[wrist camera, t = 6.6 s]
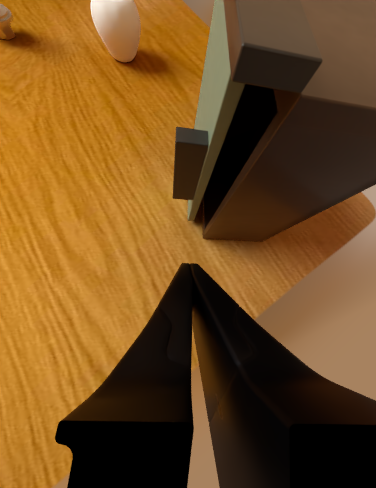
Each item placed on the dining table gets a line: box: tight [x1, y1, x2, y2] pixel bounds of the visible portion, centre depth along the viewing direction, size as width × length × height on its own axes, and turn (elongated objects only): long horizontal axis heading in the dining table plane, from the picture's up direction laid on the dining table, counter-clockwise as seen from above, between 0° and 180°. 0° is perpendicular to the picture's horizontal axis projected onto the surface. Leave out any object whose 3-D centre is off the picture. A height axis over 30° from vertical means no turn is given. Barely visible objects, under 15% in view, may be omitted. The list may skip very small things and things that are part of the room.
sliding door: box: [173, 0, 245, 221], centre depth 14 cm, size 9×3×14 cm, turn 179°
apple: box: [91, 0, 141, 62], centre depth 23 cm, size 7×7×8 cm
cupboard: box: [202, 0, 376, 242], centre depth 14 cm, size 16×10×16 cm, turn 179°
